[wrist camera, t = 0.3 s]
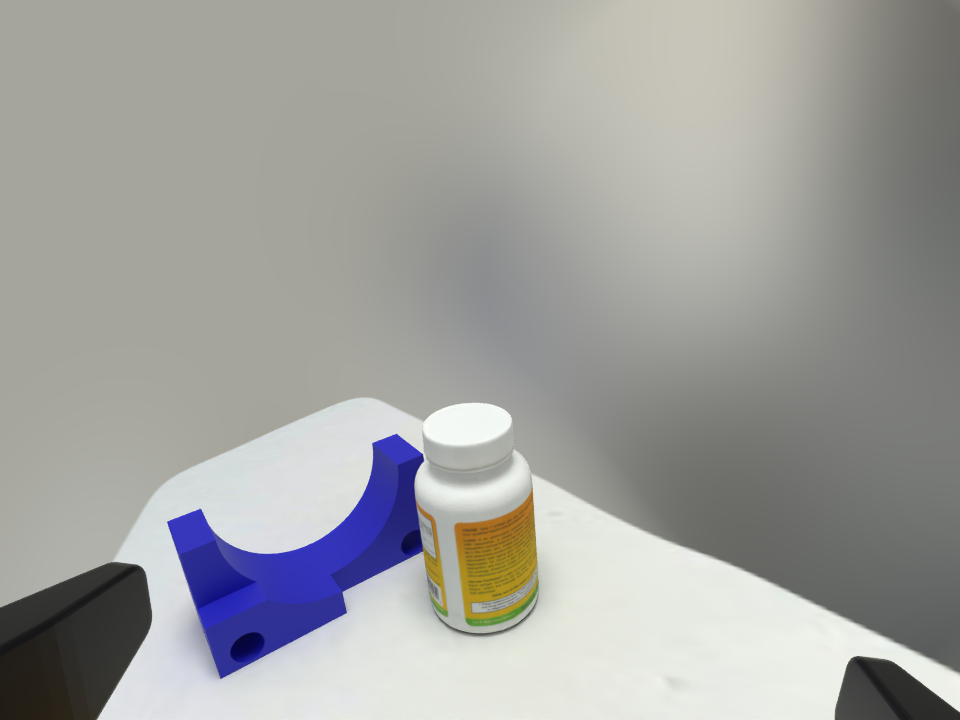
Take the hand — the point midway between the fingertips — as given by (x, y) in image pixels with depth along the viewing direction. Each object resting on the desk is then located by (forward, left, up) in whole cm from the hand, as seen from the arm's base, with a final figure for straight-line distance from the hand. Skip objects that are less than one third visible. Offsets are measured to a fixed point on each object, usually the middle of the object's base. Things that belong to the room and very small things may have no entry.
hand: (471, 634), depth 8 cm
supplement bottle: (+18, +3, -16) cm, 24 cm away
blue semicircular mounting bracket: (+18, +11, -17) cm, 27 cm away
